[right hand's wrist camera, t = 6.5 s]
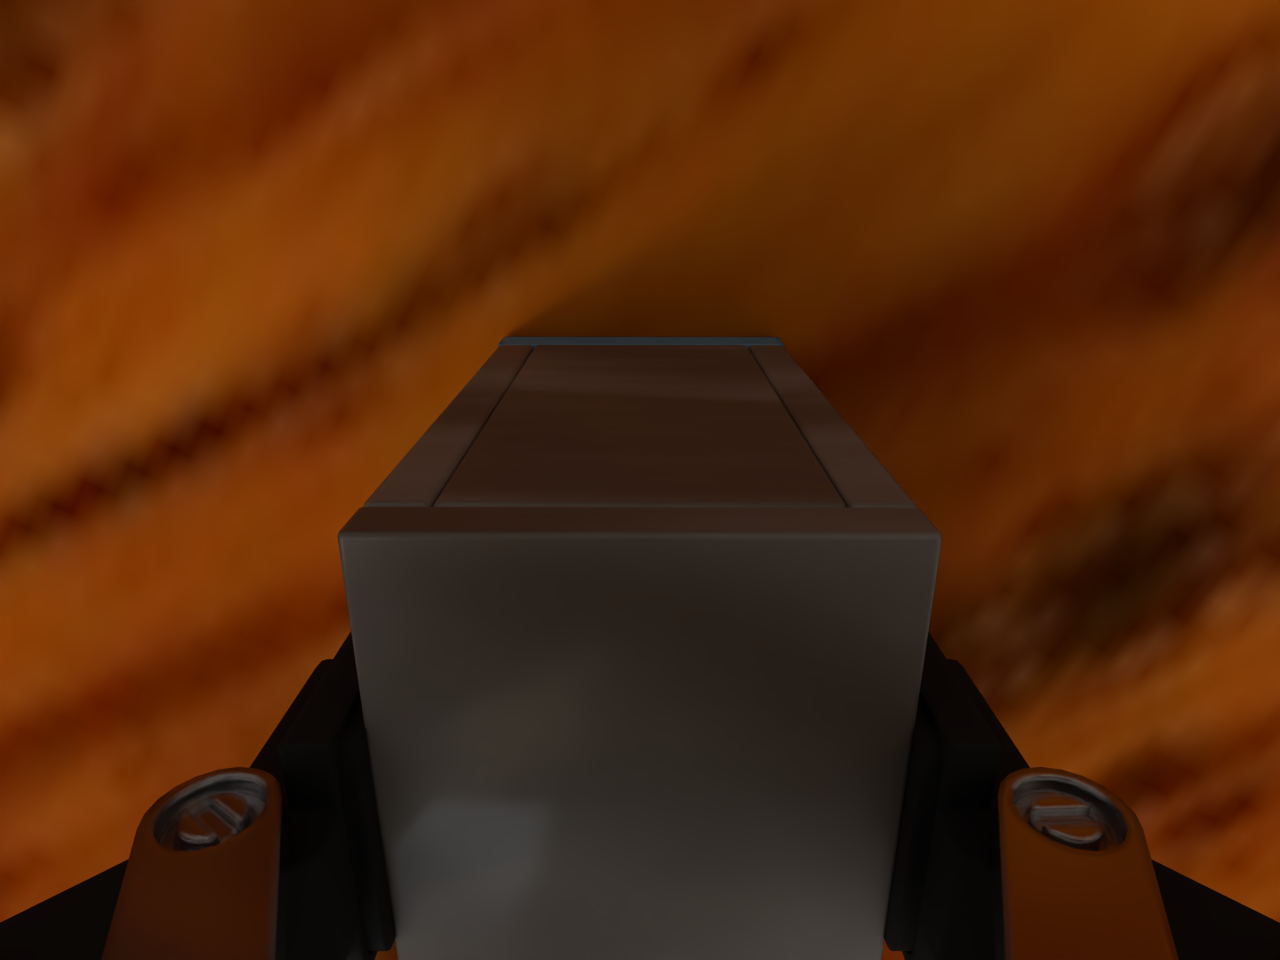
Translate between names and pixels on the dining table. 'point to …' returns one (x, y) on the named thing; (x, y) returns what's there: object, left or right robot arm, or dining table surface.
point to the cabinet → (639, 660)
